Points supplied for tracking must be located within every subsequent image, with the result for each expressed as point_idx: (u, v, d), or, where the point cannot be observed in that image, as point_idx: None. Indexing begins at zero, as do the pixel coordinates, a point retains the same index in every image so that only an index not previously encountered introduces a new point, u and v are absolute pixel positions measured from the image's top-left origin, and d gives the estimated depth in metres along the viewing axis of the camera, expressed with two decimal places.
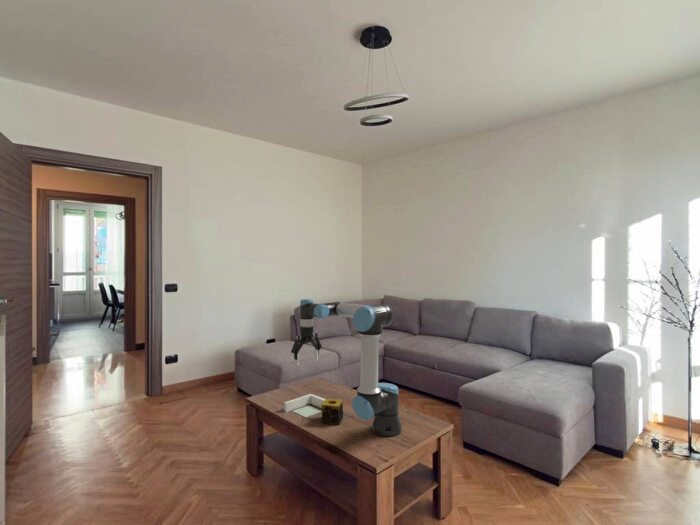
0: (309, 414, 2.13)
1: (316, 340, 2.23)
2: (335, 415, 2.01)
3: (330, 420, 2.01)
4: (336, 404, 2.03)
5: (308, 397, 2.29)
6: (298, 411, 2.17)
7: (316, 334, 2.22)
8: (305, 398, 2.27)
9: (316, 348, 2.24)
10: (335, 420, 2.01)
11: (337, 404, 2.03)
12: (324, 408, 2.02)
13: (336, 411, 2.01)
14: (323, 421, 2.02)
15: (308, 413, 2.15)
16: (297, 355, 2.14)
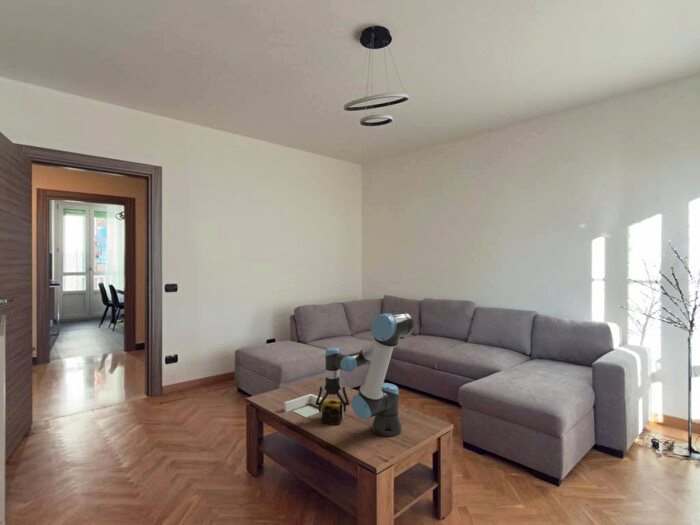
0: (309, 414, 2.13)
1: (344, 395, 2.06)
2: (335, 415, 2.01)
3: (330, 420, 2.01)
4: (336, 404, 2.03)
5: (308, 397, 2.29)
6: (298, 411, 2.17)
7: (343, 388, 2.04)
8: (305, 398, 2.27)
9: None
10: (335, 420, 2.01)
11: (337, 404, 2.03)
12: (324, 408, 2.02)
13: (336, 411, 2.01)
14: (323, 421, 2.02)
15: (308, 413, 2.15)
16: (321, 407, 2.05)
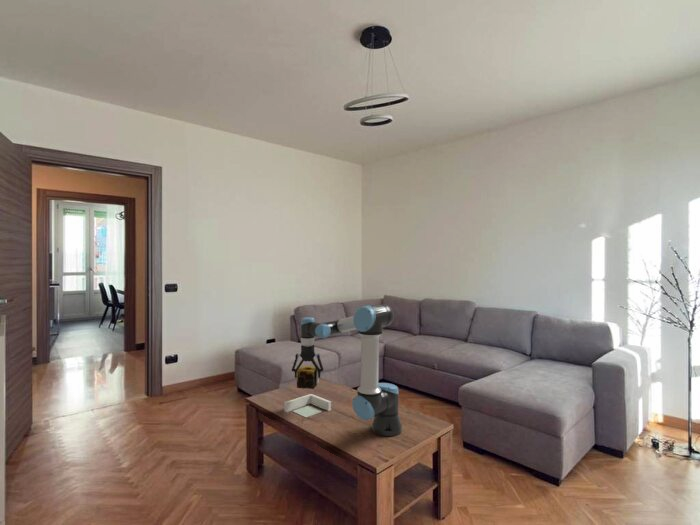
0: (309, 414, 2.13)
1: (318, 361, 2.17)
2: (310, 380, 2.13)
3: (305, 385, 2.13)
4: (311, 370, 2.14)
5: (308, 397, 2.29)
6: (298, 411, 2.17)
7: (318, 355, 2.16)
8: (305, 398, 2.27)
9: None
10: (310, 384, 2.12)
11: (312, 370, 2.15)
12: (299, 373, 2.14)
13: (311, 376, 2.13)
14: (298, 386, 2.14)
15: (308, 413, 2.15)
16: (296, 373, 2.17)
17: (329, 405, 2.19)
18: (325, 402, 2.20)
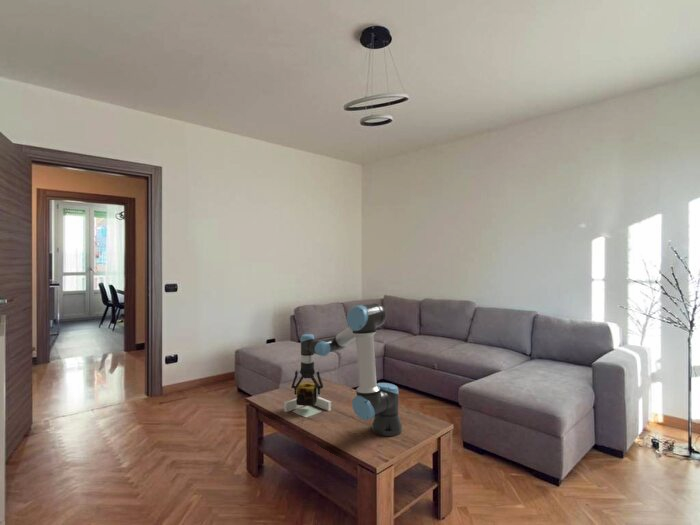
0: (309, 414, 2.13)
1: (318, 378, 2.17)
2: (309, 397, 2.13)
3: (305, 402, 2.13)
4: (310, 387, 2.15)
5: None
6: (298, 411, 2.17)
7: (317, 372, 2.16)
8: None
9: None
10: (309, 401, 2.13)
11: (311, 387, 2.15)
12: (299, 390, 2.14)
13: (310, 393, 2.13)
14: (298, 403, 2.14)
15: (308, 413, 2.15)
16: (296, 390, 2.17)
17: (329, 405, 2.19)
18: (325, 402, 2.20)
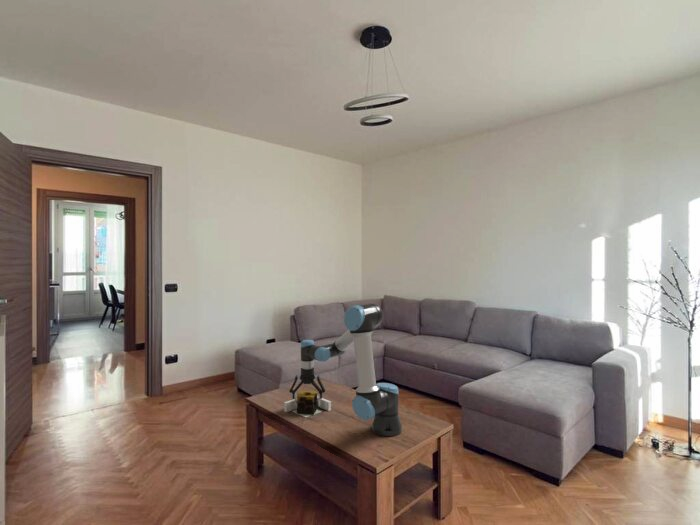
0: (309, 414, 2.13)
1: (319, 383, 2.17)
2: (310, 405, 2.13)
3: (305, 411, 2.13)
4: (311, 395, 2.15)
5: None
6: None
7: (317, 377, 2.16)
8: None
9: None
10: (310, 410, 2.13)
11: (312, 395, 2.15)
12: (299, 399, 2.14)
13: (311, 402, 2.13)
14: (298, 411, 2.14)
15: None
16: (294, 395, 2.17)
17: (329, 405, 2.19)
18: (325, 402, 2.20)
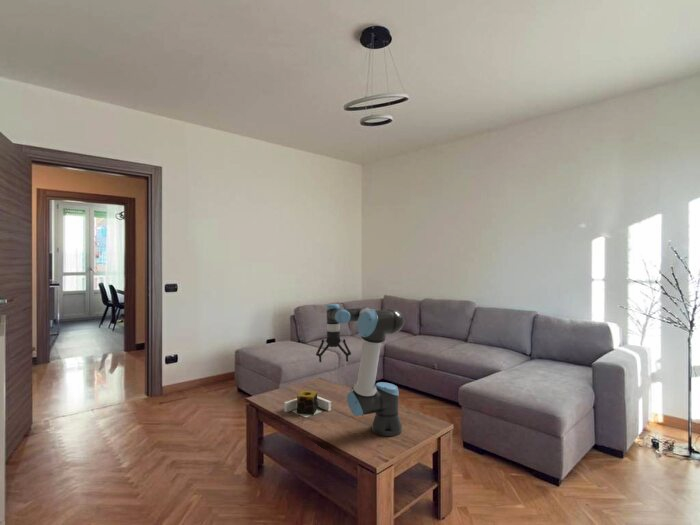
0: (309, 414, 2.13)
1: (345, 346, 2.22)
2: (310, 405, 2.13)
3: (305, 411, 2.13)
4: (311, 395, 2.15)
5: None
6: None
7: (343, 340, 2.21)
8: None
9: None
10: (310, 410, 2.13)
11: (312, 395, 2.15)
12: (299, 399, 2.14)
13: (310, 402, 2.13)
14: (298, 411, 2.14)
15: None
16: (321, 358, 2.20)
17: (329, 405, 2.19)
18: (325, 402, 2.20)
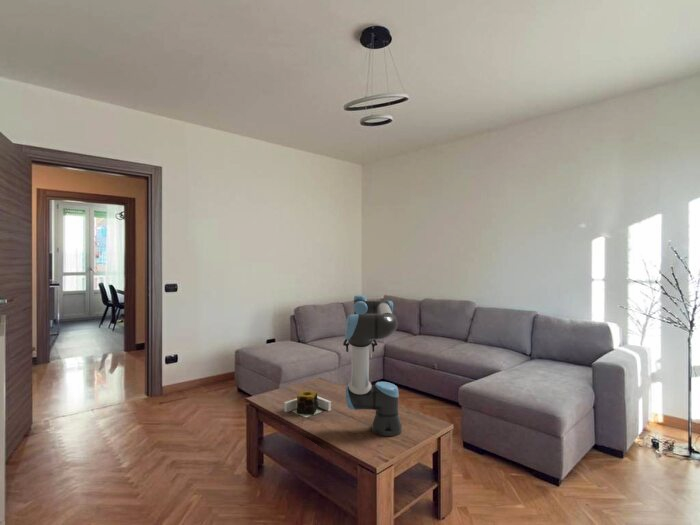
0: (309, 414, 2.13)
1: None
2: (310, 405, 2.13)
3: (305, 411, 2.13)
4: (311, 395, 2.15)
5: None
6: None
7: None
8: None
9: (372, 345, 2.27)
10: (310, 410, 2.13)
11: (312, 395, 2.15)
12: (299, 399, 2.14)
13: (311, 402, 2.13)
14: (298, 411, 2.14)
15: None
16: (348, 348, 2.26)
17: (329, 405, 2.19)
18: (325, 402, 2.20)
